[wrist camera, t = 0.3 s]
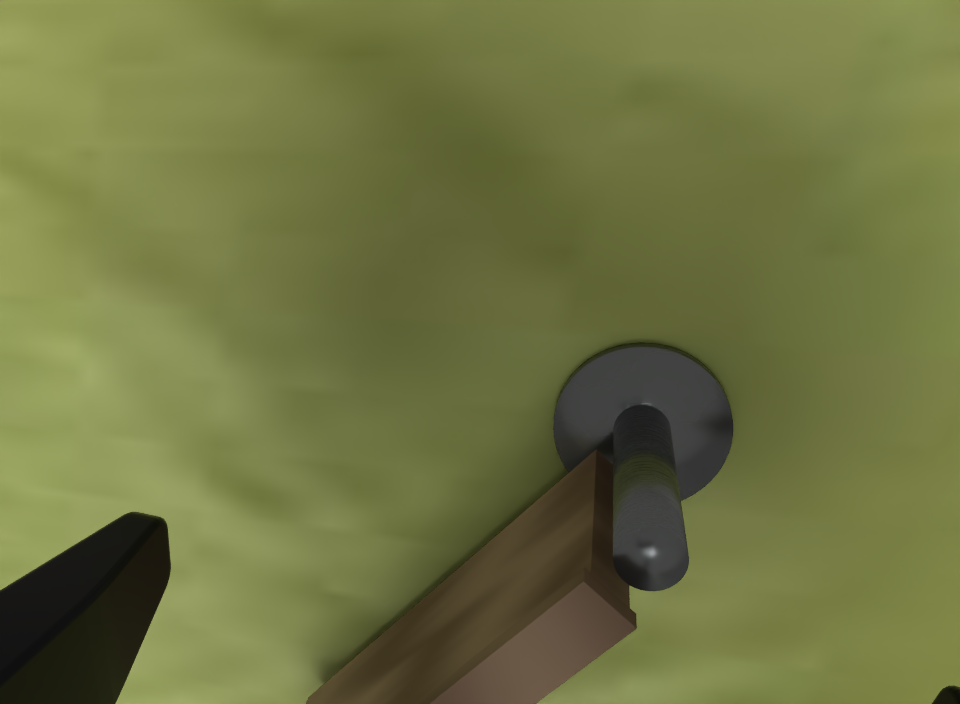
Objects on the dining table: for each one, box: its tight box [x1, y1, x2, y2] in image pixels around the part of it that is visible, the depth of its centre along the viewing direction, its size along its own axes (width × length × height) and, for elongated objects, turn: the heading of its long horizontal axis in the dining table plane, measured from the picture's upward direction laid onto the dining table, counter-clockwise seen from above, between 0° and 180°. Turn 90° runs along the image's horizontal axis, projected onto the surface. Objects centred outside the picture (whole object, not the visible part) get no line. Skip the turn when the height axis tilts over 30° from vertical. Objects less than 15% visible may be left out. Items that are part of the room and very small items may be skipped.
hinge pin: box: [553, 343, 733, 591], centre depth 22 cm, size 5×5×7 cm
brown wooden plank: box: [306, 450, 637, 704], centre depth 24 cm, size 14×2×6 cm, turn 138°
